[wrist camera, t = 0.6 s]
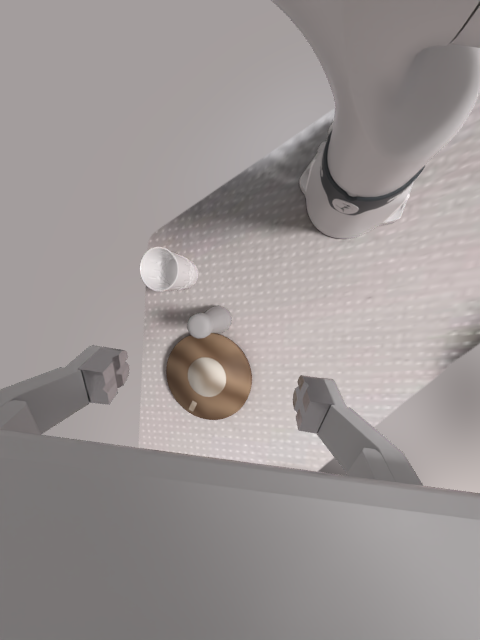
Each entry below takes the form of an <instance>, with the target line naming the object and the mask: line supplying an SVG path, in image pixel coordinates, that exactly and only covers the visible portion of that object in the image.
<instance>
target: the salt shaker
mask: <svg viewBox="0 0 480 640" xmlns="http://www.w3.org/2000/svg"><path fill="white" fill-rule="evenodd" d="M231 321H232V317H231V314H230V312H229V311H228V310H227V309H226V308H225V307H222V306H213V307H212V308H210V309H209V310H207V311H206V312H205V313H198V314H195V315H193V316H192V317H190V319H189V320H188V323H187V328H188V331H189V333H190V334H191V335H192V336H193V337H195V338H205V337H207V336H208V335H210V334H211V333H223V332H225V331H226V330H228V328H229V327H230V325H231Z"/></svg>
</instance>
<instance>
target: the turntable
mask: <svg viewBox="0 0 480 640" xmlns="http://www.w3.org/2000/svg"><path fill="white" fill-rule="evenodd" d="M166 374H167V382H168V385H169V388H170V390H171V393H172V394H173V396H174V398H175V399H176V401H177V402H178V403H179V404H180V405H181V406H182V407H183V408H184V409H185V410H186V411H188V412H189V413H191V414H193V415H195V416H197V417H200V418H203V419H209V420H218V419H223V418H227V417H229V416H231V415H233V414H234V413H236V412H237V411H238V410H239V409H240V408H241V407H242V406H243V405H244V403H245V402H246V400H247V398H248V396H249V393H250V390H251V385H252V374H251V368H250V365H249V362H248V360H247V358H246V356H245V354H244V353H243V351H242V350H241V349H240V348H239V347H238V346H237V344H235V343H234V342H233V341H232V340H230V339H229V338H227V337H225V336H223V335H220V334H217V333H211V334H210V335H208V336H207V337H205V338H195V337H193V336H192V335H190V336H187V337H185V338H184V339H182V340H181V341H180V342H178V344H177V345H176V346H175V347H174V348H173V350H172V351H171V353H170V356H169V358H168V362H167V369H166Z"/></svg>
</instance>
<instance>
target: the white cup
mask: <svg viewBox="0 0 480 640" xmlns="http://www.w3.org/2000/svg"><path fill="white" fill-rule="evenodd" d="M140 275H141V278H142V280H143V282H144V283H145V285H146V286H147V287H148V288H150V289H152V290H154V291H175V290H182V289H189V288H191V287H192V286H193V285H195V283H196V281H197V279H198V270H197V267H196V265H195V264H194V263H193V262H192V261H191V260H189V259H187V258H185V257H183V256H181V255H179V254H177V253H175V252H173V251H170V250H168V249H166V248H163V247H154V248H151V249H149V250H148V251H147V252H146V253H145V254H144V256H143V257H142V259H141V262H140Z"/></svg>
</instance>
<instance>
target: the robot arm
mask: <svg viewBox="0 0 480 640" xmlns="http://www.w3.org/2000/svg"><path fill="white" fill-rule="evenodd" d="M271 1H272V2H273V3H274V4H276V5H277V6H278V7H279V8H280V9H281V10H282V11H283V12H284V13H285V14H286V15H287V16H288V17H289V18H290V19H291V21H292V22H293V23H294V24H295V25H296V27H297V28H298V29H299V30H300V31H301V33H302V34H303V35H304V37H305V38H306V40H307V41H308V43H309V44H310V46H311V47H312V49H313V51H314V52H315V54H316V56H317V58H318V59H319V61H320V63H321V65H322V68H323V70H324V72H325V74H326V77H327V79H328V81H329V84H330V87H331V90H332V93H333V96H334V101H335V114H334V121H333V122H332V124H331V126H330V128H329V130H328V135H329V136H328V138H327V140H326V141H325V142H322V143H321V144H320V146H319V148H318V153H317V154H316V156H315V157H314V158H313V160H312V161H311V163H310V164H309V165H308V167H307V168H306V170H305V171H304V173H303V174H302V176H301V177H300V181H299V185H300V188H301V190H302V191H303V193H304V195H305V197H306V204H307V211H308V215H309V217H310V219H311V221H312V223H313V224H314V226H315V227H316V228H317V229H318V230H320V231H321V232H322V233H324V234H326V235H328V236H330V237H334V238H341V239H347V238H353V237H357V236H360V235H363V234H365V233H367V232H368V231H370V230H372V229H373V228H375V227H377V226H380V225H386V224H391V223H394V222H396V221H397V220H398V219H399V218H400V217H401V215H402V213H403V210H404V207H405V205H406V202H407V199H408V198H409V196H410V195H409V193H410V191H411V188H412V185H413V182H414V181H415V180H416V178H417V177H418V176H419V174H420V173H421V172H422V170H423V169H424V167H425V165H426V164H427V163H428V162H429V161H430V160H431V159H432V158H433V157H434V156H435V155H436V154H437V153H438V152H439V151H440V150H441V149H442V148H443V147H444V146H445V145H446V144H447V143H448V142H449V141H450V140H451V139H452V138H453V137H454V136H455V135H456V134H457V133H458V131H459V130H460V129H461V127H462V126H463V125H464V123H465V122H466V120H467V118H468V117H469V115H470V113H471V111H472V110H473V107H474V105H475V103H476V100H477V98H478V95H479V92H480V0H271ZM308 174H309V176H308ZM127 358H128V355H127V352H126V351H124V350H119V349H113V348H107V347H100V346H94V345H92V346H90V347H88V348H87V349H86V350H84V351H83V352H82V353H81V354H80V355H79V356H78V357H76V358H75V359H74V360H73V361H72V362H70V363H69V364H68V365H67V366H66V367H65V368H62V367H60V368H57V369H55V370H52V371H49V372H47V373H44V374H41V375H39V376H36V377H33V378H31V379H28V380H25V381H22V382H20V383H17V384H14V385H11V386H9V387H6V388H3V389H1V390H0V640H480V493H473V492H466V491H458V490H450V489H443V488H435V487H428V486H423V485H422V483H421V481H420V479H419V478H418V476H417V475H416V473H415V471H414V470H413V468H412V466H411V465H410V463H409V461H408V460H407V458H406V456H405V455H404V453H403V452H402V451H401V450H400V449H398V448H397V447H396V446H395V445H394V444H392V443H391V442H390V441H389V440H388V439H387V438H386V437H384V436H383V435H382V434H381V433H380V432H379V431H377V430H376V429H375V428H374V427H373V426H371V425H370V424H369V423H368V422H367V421H366V420H364V419H363V418H362V417H361V416H360V415H358V414H357V413H356V412H355V411H354V410H353V409H351V408H350V407H347V406H346V404H345V402H344V400H343V398H342V395H341V393H340V391H339V389H338V387H337V385H336V383H335V381H334V380H333V379H327V378H317V377H310V376H302V375H301V376H300V377H299V379H298V385H299V386H298V387H297V388H295V391H294V394H293V406H294V409H295V411H296V412H297V415H296V421H297V426H298V430H299V431H305V432H311V433H317V435H318V436H319V437H320V439H321V440H322V441H323V443H324V444H325V445H326V447H327V448H328V449H329V451H330V452H331V453H332V455H333V456H334V457H335V459H336V460H337V461H338V463H339V464H340V465H341V466H342V468H343V469H344V470H345V472H346V473H347V474H346V475H338V474H330V473H323V472H316V471H308V470H301V469H294V468H286V467H279V466H271V465H263V464H256V463H248V462H241V461H233V460H226V459H218V458H211V457H203V456H196V455H188V454H181V453H173V452H166V451H158V450H151V449H144V448H136V447H129V446H120V445H113V444H106V443H99V442H91V441H83V440H76V439H69V438H61V437H53V436H46V435H41V434H42V433H44V432H45V431H47V430H49V429H50V428H51V427H53V426H55V425H56V424H58V423H60V422H61V421H63V420H64V419H66V418H67V417H69V416H70V415H72V414H74V413H75V412H77V411H78V410H80V409H82V408H83V407H85V406H86V405H88V404H89V402H91V403H100V404H110V403H111V402H112V400H113V399H114V398H115V396H116V395H117V394H118V389H117V388H119V387H121V386H123V385H124V384H125V382H126V381H127V378H128V376H129V365H128V364H127V362H126V360H127Z"/></svg>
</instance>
